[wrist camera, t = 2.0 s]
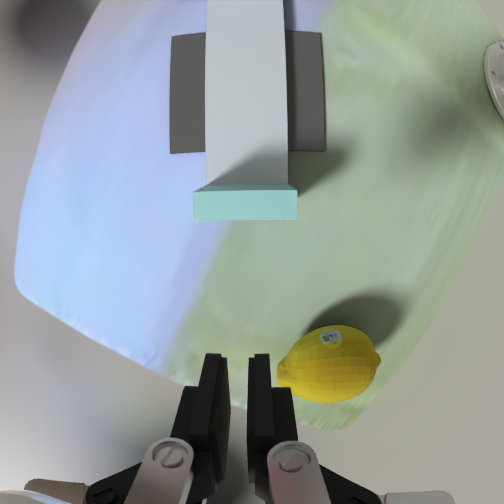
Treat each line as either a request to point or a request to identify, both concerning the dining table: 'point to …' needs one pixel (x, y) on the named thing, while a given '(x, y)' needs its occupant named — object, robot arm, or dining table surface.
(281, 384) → the lemon
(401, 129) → the dining table surface
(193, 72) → the mat
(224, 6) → the sled
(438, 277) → the dining table surface
